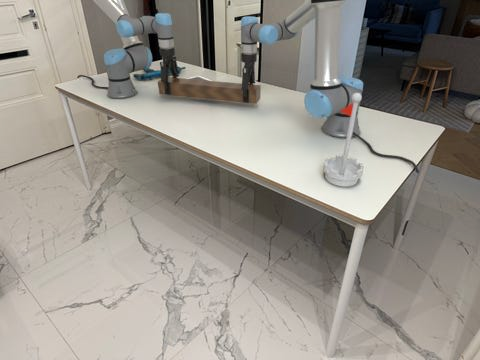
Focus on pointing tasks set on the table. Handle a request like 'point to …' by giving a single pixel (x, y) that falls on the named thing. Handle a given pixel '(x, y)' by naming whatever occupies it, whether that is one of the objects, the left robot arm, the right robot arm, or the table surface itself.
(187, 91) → the slab
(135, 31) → the left robot arm
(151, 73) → the submachine gun
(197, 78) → the tablet
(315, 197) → the table surface
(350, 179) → the flag stand
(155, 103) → the table surface
